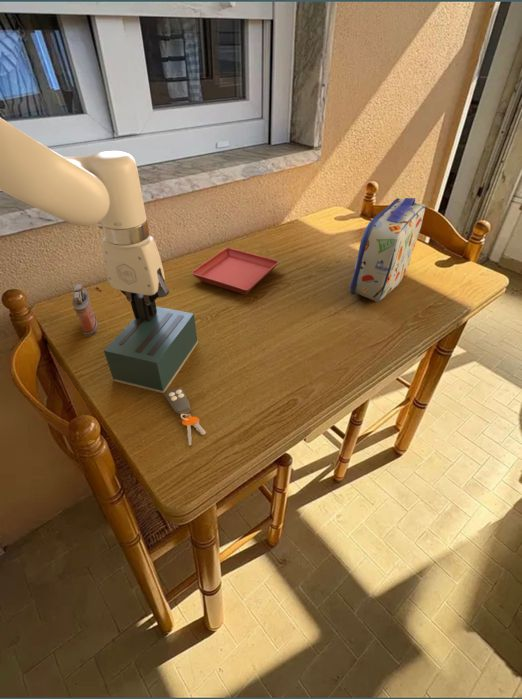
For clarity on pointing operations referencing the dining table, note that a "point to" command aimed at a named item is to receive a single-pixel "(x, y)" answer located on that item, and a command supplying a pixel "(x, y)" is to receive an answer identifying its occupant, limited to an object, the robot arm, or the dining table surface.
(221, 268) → the plant saucer
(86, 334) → the lighter
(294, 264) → the dining table surface
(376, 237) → the lunch box
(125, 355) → the toaster
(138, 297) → the slider
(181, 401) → the key chain
